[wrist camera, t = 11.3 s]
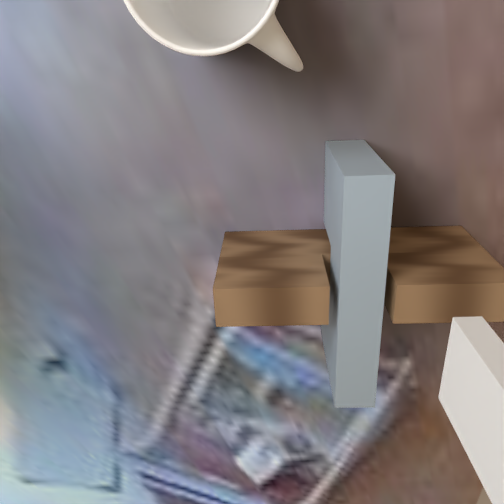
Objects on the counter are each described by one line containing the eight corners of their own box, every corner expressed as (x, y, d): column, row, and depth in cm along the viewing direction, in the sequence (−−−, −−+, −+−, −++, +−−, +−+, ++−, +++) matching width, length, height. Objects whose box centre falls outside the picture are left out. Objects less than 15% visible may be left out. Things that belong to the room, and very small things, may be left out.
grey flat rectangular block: (321, 331, 45) (334, 407, 35) (325, 141, 37) (344, 176, 28) (352, 331, 44) (374, 407, 35) (364, 139, 37) (395, 174, 28)
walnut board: (227, 262, 42) (216, 326, 33) (225, 231, 40) (212, 289, 31) (455, 257, 41) (509, 321, 32) (461, 225, 40) (518, 282, 31)
